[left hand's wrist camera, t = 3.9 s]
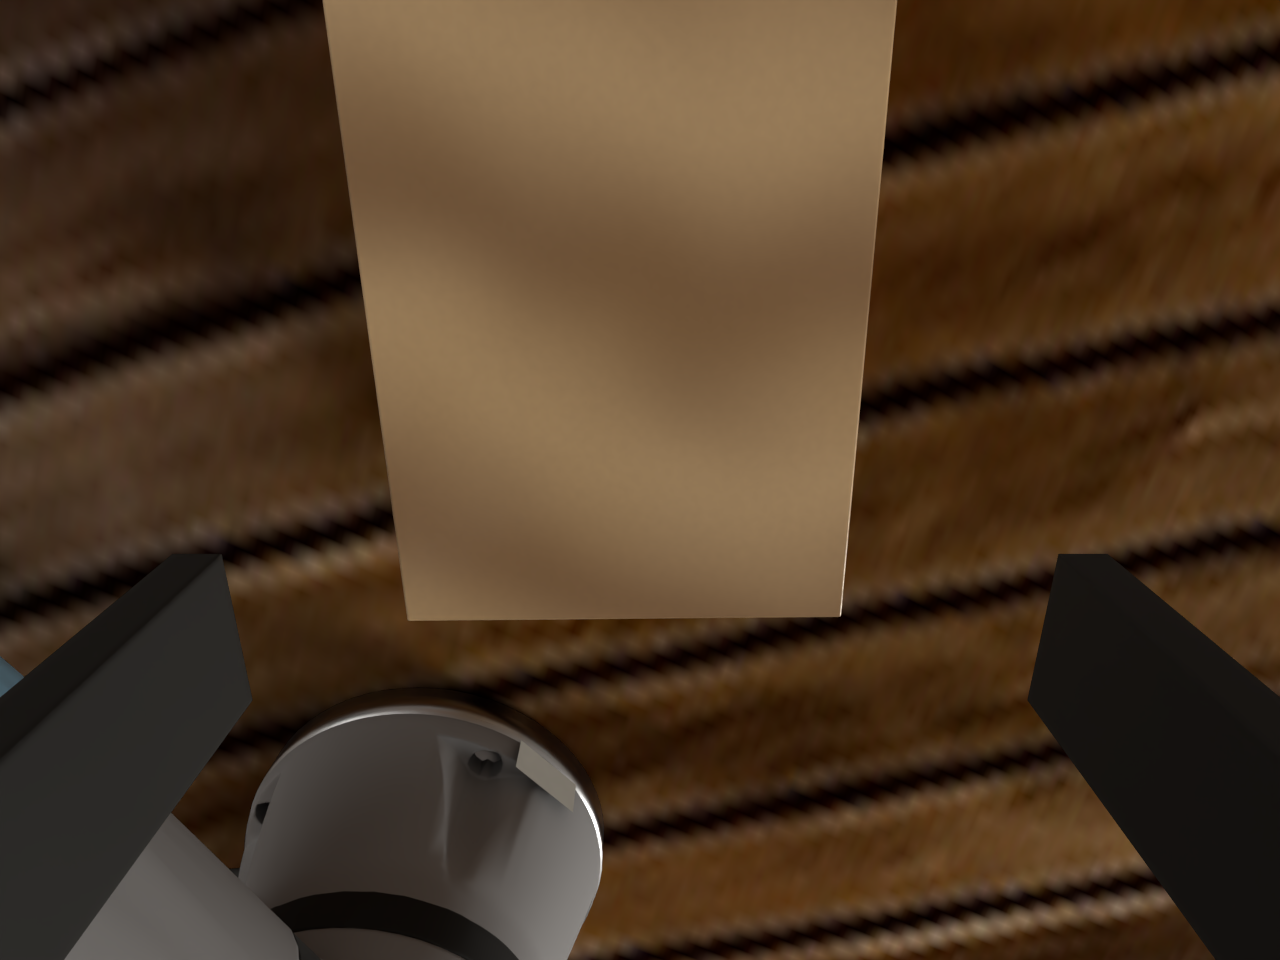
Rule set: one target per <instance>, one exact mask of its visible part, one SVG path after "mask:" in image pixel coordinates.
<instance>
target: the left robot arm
mask: <svg viewBox="0 0 1280 960" xmlns="http://www.w3.org/2000/svg"><path fill="white" fill-rule="evenodd" d="M251 701H252V695H251V691H250V686H249V681H248V677H247V672H246V667H245V662H244V658H243V653H242V648H241V644H240V639H239V634H238V630H237V625H236V620H235V615H234V611H233V606H232V601H231V597H230V592H229V587H228V583H227V578H226V573H225V568H224V564H223V559H222V554H172V555H171V556H170V557H168V558H167V559H166V560H165V561H164V562H162V563H161V564H160V565H159V566H158V567H156V568H155V569H154V570H153V571H152V572H150V573H149V574H148V575H147V576H146V577H144V578H143V579H142V580H141V581H140V582H138V583H137V584H136V585H135V586H133V587H132V588H131V589H130V590H129V591H127V592H126V593H125V594H124V595H123V596H121V597H120V598H119V599H118V600H117V601H115V602H114V603H113V604H112V605H111V606H109V607H108V608H107V609H106V610H105V611H103V612H102V613H101V614H100V615H99V616H97V617H96V618H95V619H94V620H93V621H91V622H90V623H89V624H88V625H87V626H85V627H84V628H83V629H82V630H81V631H79V632H78V633H77V634H76V635H75V636H73V637H72V638H71V639H70V640H68V641H67V642H66V643H65V644H64V645H62V646H61V647H60V648H59V649H58V650H56V651H55V652H54V653H53V654H52V655H50V656H49V657H48V658H47V659H46V660H44V661H43V662H42V663H41V664H40V665H38V666H37V667H36V668H35V669H34V670H32V671H31V672H30V673H29V674H28V675H26V676H25V677H24V676H23V675H21V674H20V673H19V672H18V671H17V670H16V669H14V668H13V667H12V666H11V665H10V664H9V663H7V662H6V661H5V660H4V659H3V658H2V657H0V960H567V958H568V956H569V954H570V952H571V949H572V947H573V945H574V943H575V940H576V938H577V936H578V933H579V931H580V929H581V926H582V924H583V923H584V921H585V919H586V917H587V915H588V913H589V910H590V908H591V906H592V903H593V900H594V898H595V896H596V892H597V889H598V886H599V883H600V877H601V872H602V855H603V838H604V824H603V815H602V810H601V805H600V802H599V799H598V796H597V793H596V790H595V788H594V786H593V784H592V782H591V779H590V778H589V776H588V774H587V773H586V771H585V769H584V768H583V766H582V765H581V764H580V762H579V761H578V760H577V758H576V757H575V756H574V754H573V753H572V752H571V751H570V750H569V749H568V748H567V747H566V746H565V745H564V744H563V743H562V742H561V741H560V740H559V739H558V738H556V737H555V736H554V735H553V734H552V733H551V732H549V731H548V730H547V729H545V728H544V727H543V726H541V725H540V724H538V723H537V722H535V721H534V720H532V719H530V718H529V717H527V716H525V715H524V714H522V713H520V712H518V711H516V710H514V709H512V708H510V707H507V706H505V705H503V704H500V703H497V702H495V701H492V700H490V699H486V698H483V697H479V696H476V695H473V694H468V693H463V692H459V691H453V690H445V689H437V688H399V689H391V690H383V691H378V692H373V693H369V694H365V695H362V696H358V697H355V698H352V699H349V700H347V701H344V702H342V703H339V704H337V705H335V706H333V707H331V708H329V709H327V710H325V711H324V712H322V713H320V714H319V715H317V716H316V717H314V718H313V719H311V720H310V721H309V722H307V723H306V724H305V725H304V726H303V727H302V728H300V729H299V730H298V731H297V732H296V733H295V734H294V735H293V736H292V738H291V739H290V740H289V741H288V742H287V744H286V745H285V746H284V748H283V749H282V750H281V752H280V753H279V755H278V757H277V758H276V760H275V761H274V763H273V765H272V766H271V768H270V770H269V771H268V773H267V774H266V776H265V778H264V779H263V781H262V783H261V785H260V787H259V789H258V790H257V793H256V795H255V798H254V801H253V803H252V807H251V812H250V816H249V820H248V824H247V830H246V836H245V850H244V854H243V857H242V861H241V866H240V868H234V869H228V868H227V867H226V866H225V865H224V864H223V863H222V862H221V861H220V860H219V859H218V858H217V857H216V856H215V855H214V854H213V853H212V852H211V851H210V850H209V849H208V848H207V847H206V846H205V845H204V844H203V843H202V842H201V841H199V840H198V839H197V838H196V837H195V836H194V835H193V834H192V833H191V832H190V831H189V830H188V829H187V828H186V827H185V826H184V825H183V824H182V823H181V822H180V821H179V820H178V819H177V818H176V817H175V816H174V815H173V814H172V813H171V812H172V810H173V809H174V808H175V806H176V805H177V803H178V802H179V801H180V799H181V798H182V797H183V795H184V794H185V792H186V791H187V790H188V788H189V787H190V786H191V784H192V783H193V781H194V780H195V779H196V777H197V776H198V775H199V773H200V772H201V770H202V769H203V768H204V766H205V765H206V764H207V762H208V761H209V759H210V758H211V757H212V755H213V754H214V752H215V751H216V750H217V748H218V747H219V746H220V744H221V743H222V741H223V740H224V739H225V737H226V736H227V735H228V733H229V732H230V730H231V729H232V728H233V726H234V725H235V724H236V722H237V721H238V719H239V718H240V717H241V715H242V714H243V712H244V711H245V710H246V708H247V707H248V706H249V704H250V703H251ZM1028 701H1029V703H1030V704H1031V706H1032V707H1033V708H1034V710H1035V711H1036V712H1037V714H1038V715H1039V717H1040V718H1041V719H1042V721H1043V722H1044V724H1045V725H1046V726H1047V728H1048V729H1049V730H1050V732H1051V733H1052V735H1053V736H1054V737H1055V739H1056V740H1057V741H1058V743H1059V744H1060V746H1061V747H1062V748H1063V750H1064V751H1065V752H1066V754H1067V755H1068V757H1069V758H1070V759H1071V761H1072V762H1073V764H1074V765H1075V766H1076V768H1077V769H1078V770H1079V772H1080V773H1081V775H1082V776H1083V777H1084V779H1085V780H1086V781H1087V783H1088V784H1089V786H1090V787H1091V788H1092V790H1093V791H1094V792H1095V794H1096V795H1097V797H1098V798H1099V799H1100V801H1101V802H1102V803H1103V805H1104V806H1105V808H1106V809H1107V810H1108V812H1109V813H1110V815H1111V816H1112V817H1113V819H1114V820H1115V821H1116V823H1117V824H1118V826H1119V827H1120V828H1121V830H1122V831H1123V832H1124V834H1125V835H1126V837H1127V838H1128V839H1129V841H1130V842H1131V843H1132V845H1133V846H1134V848H1135V849H1136V850H1137V852H1138V853H1139V855H1140V856H1141V857H1142V859H1143V860H1144V861H1145V863H1146V864H1147V866H1148V867H1149V868H1150V870H1151V871H1152V872H1153V874H1154V875H1155V877H1156V878H1157V879H1158V881H1159V882H1160V883H1161V885H1162V886H1163V888H1164V889H1165V890H1166V892H1167V893H1168V895H1169V896H1170V897H1171V899H1172V900H1173V901H1174V903H1175V904H1176V906H1177V907H1178V908H1179V910H1180V911H1181V912H1182V914H1183V915H1184V917H1185V918H1186V919H1187V921H1188V922H1189V923H1190V925H1191V926H1192V928H1193V929H1194V930H1195V932H1196V933H1197V934H1198V936H1199V937H1200V939H1201V940H1202V941H1203V943H1204V944H1205V946H1206V947H1207V948H1208V950H1209V951H1210V952H1211V954H1212V955H1213V957H1214V958H1215V959H1216V960H1280V697H1279V696H1278V695H1277V694H1275V693H1274V692H1273V691H1272V690H1270V689H1269V688H1268V687H1267V686H1266V685H1264V684H1263V683H1262V682H1261V681H1260V680H1258V679H1257V678H1256V677H1255V676H1254V675H1252V674H1251V673H1250V672H1249V671H1248V670H1246V669H1245V668H1244V667H1243V666H1242V665H1240V664H1239V663H1238V662H1237V661H1236V660H1234V659H1233V658H1232V657H1231V656H1230V655H1228V654H1227V653H1226V652H1225V651H1224V650H1222V649H1221V648H1220V647H1219V646H1218V645H1216V644H1215V643H1214V642H1213V641H1212V640H1210V639H1209V638H1208V637H1207V636H1205V635H1204V634H1203V633H1202V632H1201V631H1199V630H1198V629H1197V628H1196V627H1195V626H1193V625H1192V624H1191V623H1190V622H1189V621H1187V620H1186V619H1185V618H1184V617H1183V616H1181V615H1180V614H1179V613H1178V612H1177V611H1175V610H1174V609H1173V608H1172V607H1171V606H1169V605H1168V604H1167V603H1166V602H1165V601H1163V600H1162V599H1161V598H1160V597H1159V596H1157V595H1156V594H1155V593H1154V592H1153V591H1151V590H1150V589H1149V588H1148V587H1147V586H1145V585H1144V584H1143V583H1142V582H1140V581H1139V580H1138V579H1137V578H1136V577H1134V576H1133V575H1132V574H1131V573H1130V572H1128V571H1127V570H1126V569H1125V568H1124V567H1122V566H1121V565H1120V564H1119V563H1118V562H1116V561H1115V560H1114V559H1113V558H1112V557H1110V556H1109V555H1108V554H1058V559H1057V564H1056V568H1055V573H1054V578H1053V583H1052V587H1051V592H1050V597H1049V601H1048V606H1047V611H1046V615H1045V620H1044V625H1043V630H1042V634H1041V639H1040V644H1039V648H1038V653H1037V658H1036V662H1035V667H1034V672H1033V677H1032V681H1031V686H1030V691H1029V695H1028Z"/></svg>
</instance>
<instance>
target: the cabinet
mask: <svg viewBox="0 0 1280 960" xmlns="http://www.w3.org/2000/svg"><path fill="white" fill-rule="evenodd" d="M323 7H324V15H325V22H326V29H327V36H328V44H329V51H330V58H331V66H332V73H333V80H334V87H335V95H336V102H337V109H338V117H339V124H340V131H341V139H342V146H343V153H344V160H345V168H346V175H347V182H348V190H349V197H350V204H351V211H352V219H353V226H354V233H355V241H356V248H357V255H358V262H359V270H360V277H361V284H362V292H363V299H364V306H365V313H366V321H367V328H368V335H369V343H370V350H371V357H372V364H373V372H374V379H375V386H376V394H377V401H378V408H379V415H380V423H381V430H382V437H383V445H384V452H385V459H386V466H387V474H388V481H389V488H390V496H391V503H392V510H393V518H394V525H395V532H396V539H397V547H398V554H399V561H400V569H401V576H402V583H403V590H404V598H405V605H406V612H407V619H408V620H409V621H431V620H540V619H648V618H757V617H840V616H841V611H842V600H843V589H844V578H845V567H846V556H847V545H848V534H849V523H850V512H851V501H852V490H853V479H854V468H855V457H856V446H857V435H858V424H859V413H860V402H861V391H862V380H863V370H864V359H865V348H866V337H867V326H868V315H869V304H870V293H871V282H872V271H873V260H874V249H875V238H876V227H877V216H878V205H879V194H880V183H881V172H882V161H883V150H884V139H885V128H886V117H887V106H888V95H889V84H890V73H891V62H892V51H893V40H894V29H895V18H896V7H897V0H323Z"/></svg>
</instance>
